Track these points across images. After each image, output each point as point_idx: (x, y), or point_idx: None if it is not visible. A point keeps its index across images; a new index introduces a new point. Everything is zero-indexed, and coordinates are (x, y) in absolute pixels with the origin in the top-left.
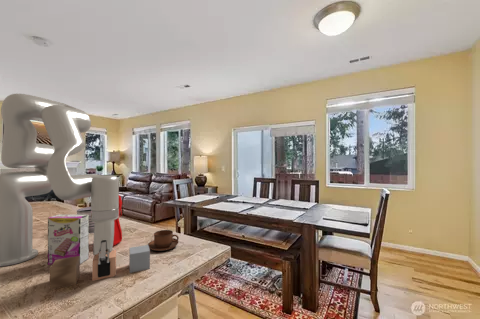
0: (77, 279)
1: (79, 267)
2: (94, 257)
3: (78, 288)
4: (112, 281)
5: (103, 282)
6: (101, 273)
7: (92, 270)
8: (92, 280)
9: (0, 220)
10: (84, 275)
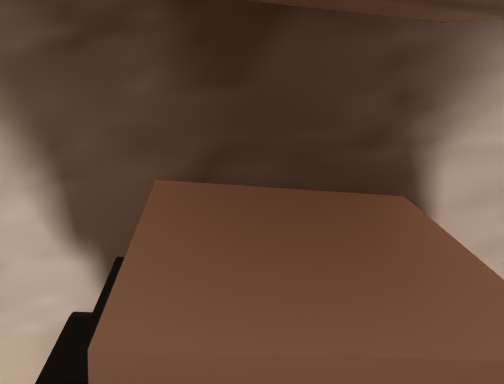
0: (276, 2)
1: (490, 15)
2: (312, 372)
3: (13, 30)
4: (25, 366)
5: (44, 289)
6: (68, 325)
7: (133, 235)
8: (155, 181)
9: None
10: (372, 83)
